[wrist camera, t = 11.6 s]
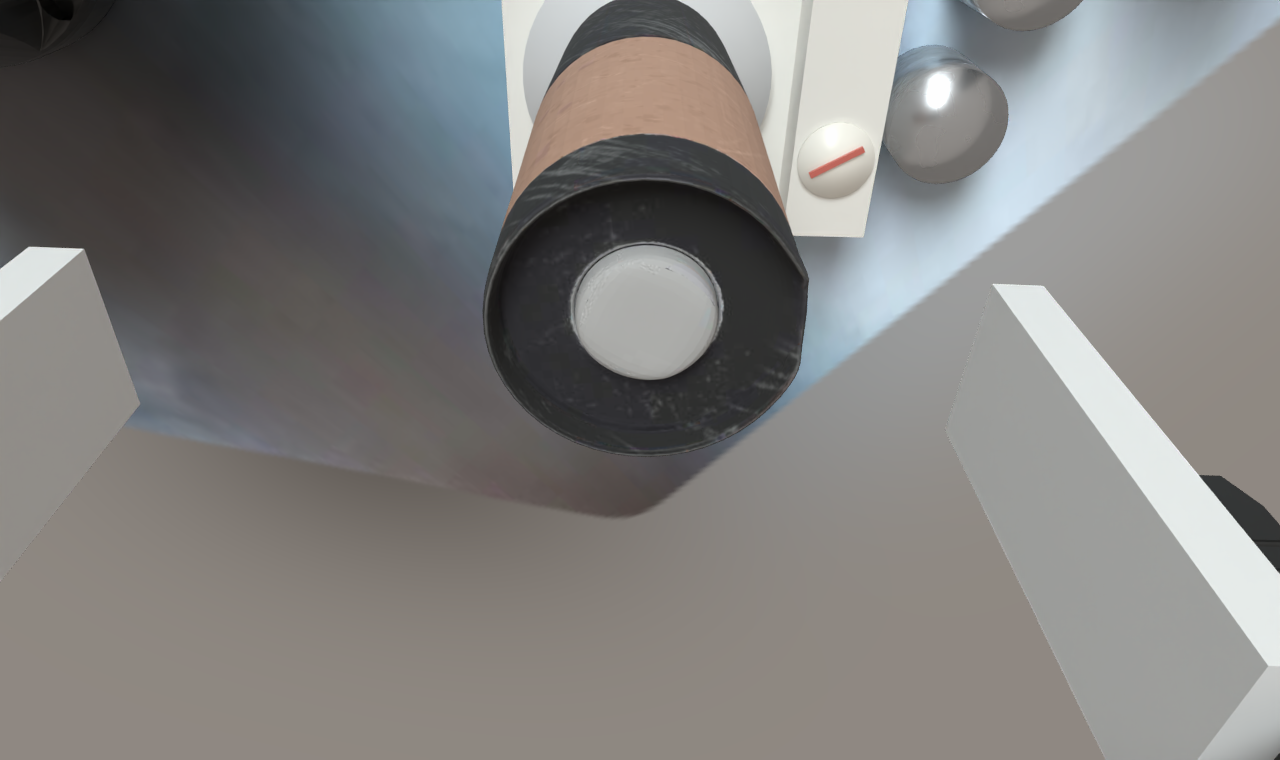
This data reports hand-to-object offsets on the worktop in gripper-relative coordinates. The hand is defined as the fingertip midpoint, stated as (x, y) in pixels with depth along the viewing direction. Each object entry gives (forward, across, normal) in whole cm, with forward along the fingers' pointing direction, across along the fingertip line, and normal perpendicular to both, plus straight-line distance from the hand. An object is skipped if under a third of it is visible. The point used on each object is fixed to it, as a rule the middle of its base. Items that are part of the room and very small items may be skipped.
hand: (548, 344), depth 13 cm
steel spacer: (+29, +15, -4) cm, 33 cm away
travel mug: (+26, +2, -3) cm, 26 cm away
